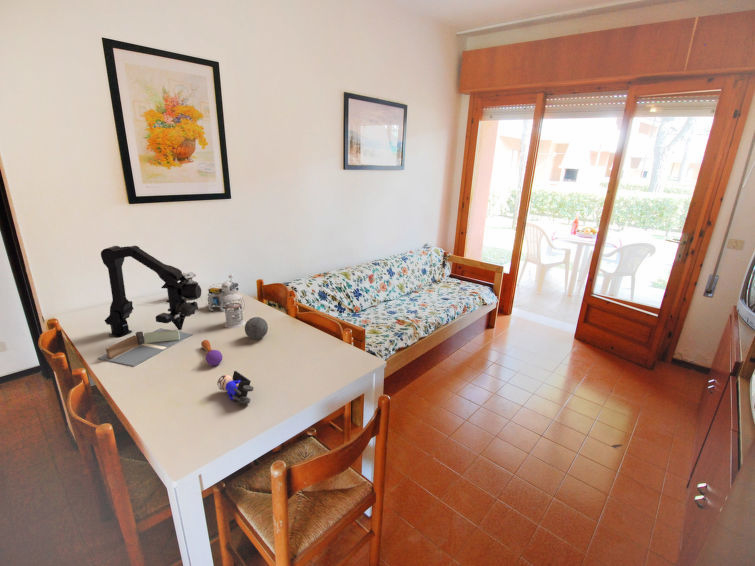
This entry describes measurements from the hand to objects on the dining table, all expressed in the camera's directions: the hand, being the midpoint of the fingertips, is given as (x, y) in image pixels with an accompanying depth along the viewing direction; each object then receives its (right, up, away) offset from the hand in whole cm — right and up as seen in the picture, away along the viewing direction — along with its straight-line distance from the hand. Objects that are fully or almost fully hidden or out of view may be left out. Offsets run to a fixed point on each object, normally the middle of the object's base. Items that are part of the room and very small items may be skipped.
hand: (180, 329), depth 167 cm
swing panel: (-4, -4, -7) cm, 9 cm away
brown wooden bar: (-13, -6, -16) cm, 22 cm away
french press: (+20, +1, +15) cm, 25 cm away
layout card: (-8, -5, -11) cm, 14 cm away
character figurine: (+42, -17, -42) cm, 62 cm away
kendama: (+22, -9, -17) cm, 29 cm away
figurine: (-20, +12, +45) cm, 51 cm away
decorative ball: (+35, -4, 0) cm, 35 cm away
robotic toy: (+6, +8, +34) cm, 35 cm away
